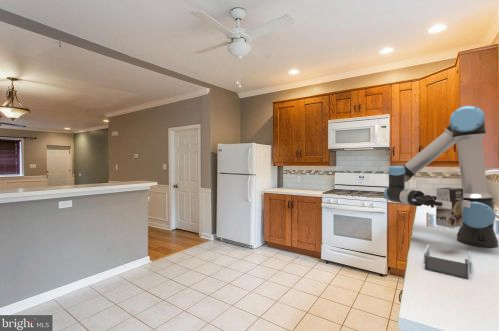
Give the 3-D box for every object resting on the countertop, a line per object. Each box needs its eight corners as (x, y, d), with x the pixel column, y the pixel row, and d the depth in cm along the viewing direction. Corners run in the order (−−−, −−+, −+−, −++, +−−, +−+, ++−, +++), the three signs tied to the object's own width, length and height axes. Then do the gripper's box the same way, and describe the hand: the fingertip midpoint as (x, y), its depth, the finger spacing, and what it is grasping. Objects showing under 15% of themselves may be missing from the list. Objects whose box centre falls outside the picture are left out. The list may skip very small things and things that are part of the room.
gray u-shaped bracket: (427, 253, 110) (427, 241, 110) (470, 261, 101) (470, 249, 101) (421, 268, 95) (422, 255, 95) (471, 280, 86) (472, 265, 86)
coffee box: (452, 228, 106) (453, 189, 105) (435, 224, 111) (435, 187, 111) (463, 225, 110) (464, 188, 110) (446, 222, 116) (446, 186, 115)
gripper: (429, 204, 131) (479, 212, 109) (394, 206, 125) (440, 215, 103) (429, 189, 131) (479, 194, 109) (394, 190, 124) (440, 197, 103)
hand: (460, 204), depth 106 cm, fingers closed on coffee box, 10 cm apart
